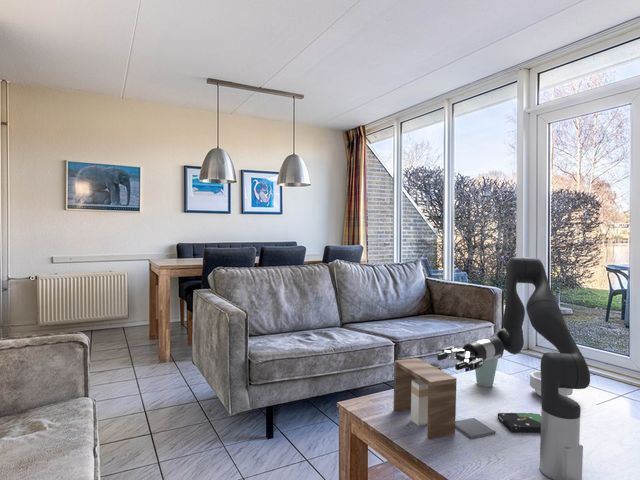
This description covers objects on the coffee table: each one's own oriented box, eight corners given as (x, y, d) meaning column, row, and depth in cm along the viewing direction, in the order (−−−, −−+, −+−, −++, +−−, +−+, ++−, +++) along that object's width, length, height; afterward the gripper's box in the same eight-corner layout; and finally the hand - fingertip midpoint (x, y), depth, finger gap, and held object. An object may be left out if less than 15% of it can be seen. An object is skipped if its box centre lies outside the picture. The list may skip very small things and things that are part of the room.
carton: (429, 423, 139) (430, 383, 139) (418, 425, 138) (419, 385, 137) (421, 417, 144) (422, 378, 143) (410, 419, 142) (411, 380, 142)
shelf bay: (455, 434, 133) (456, 378, 132) (429, 439, 129) (430, 382, 129) (416, 406, 153) (417, 358, 153) (393, 410, 150) (394, 360, 149)
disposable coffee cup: (493, 380, 181) (494, 347, 180) (501, 390, 170) (502, 354, 170) (469, 379, 182) (470, 346, 182) (475, 388, 171) (476, 353, 171)
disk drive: (511, 435, 134) (555, 434, 134) (511, 426, 134) (555, 426, 134) (496, 420, 144) (537, 419, 145) (496, 412, 144) (538, 412, 145)
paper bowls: (564, 390, 171) (565, 372, 170) (578, 406, 156) (578, 385, 156) (525, 386, 174) (525, 368, 174) (534, 401, 160) (535, 381, 159)
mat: (495, 433, 133) (495, 431, 133) (471, 438, 130) (471, 436, 130) (473, 419, 143) (474, 417, 143) (450, 424, 139) (450, 422, 139)
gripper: (464, 335, 155) (432, 345, 148) (495, 348, 143) (462, 360, 135) (463, 353, 157) (432, 364, 149) (495, 368, 144) (462, 381, 137)
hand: (446, 362), depth 142 cm, fingers open, 8 cm apart
